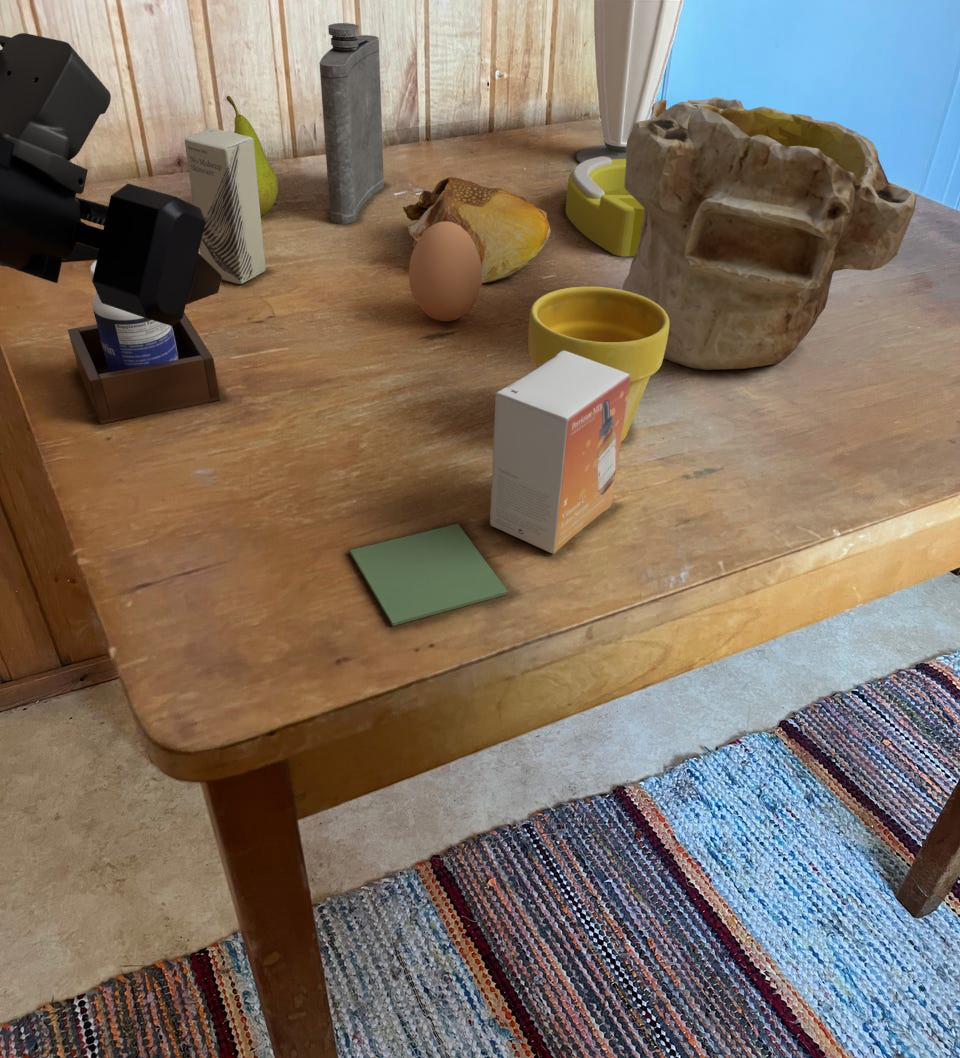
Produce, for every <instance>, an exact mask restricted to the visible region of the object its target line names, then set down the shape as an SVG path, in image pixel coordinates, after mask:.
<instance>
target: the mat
mask: <svg viewBox="0 0 960 1058" xmlns="http://www.w3.org/2000/svg"><path fill="white" fill-rule="evenodd" d="M349 553H350V556H351V558H352V559H353V561H354V563H355V565H356V566H357V568H358V569H359V571H360V573H361V575H362V576H363V579H364V580H365V582H366V583H367V585H368V587H369V589H370V590H371V592H372V594H373V596H374V597H375V599H376V601H377V602H378V604H379V606H380V608H381V609H382V611H383V613H384V615H385V616H386V618H387V620H388V622H389V623H390V625H391V626H392V627H395V626H399V625H403V624H405V623H411V622H413V621H416V620H420V619H424V618H427V617H431V616H434V615H438V614H443V613H446V612H449V611H453V610H455V609H456V610H457V609H460V608H464V607H467V606H471V605H476V604H478V603H482V602H485V601H489V600H492V599H496V598H500V597H503V596H507V595H508V590H507V589H506V587H505V585H504V584H503V583H502V582H501V580H500V579H499V578H498V576H497V574H495V572H494V570H493V569H492V568H491V567H490V565H489V563H487V561H486V560H485V558H484V557H483V556H482V554H481V553H480V552H479V550H478V549H477V547H476V546H475V545H474V543H473V542H472V540H471V539H470V538H469V536H468V535H467V534H466V532H465V531H464V530H463V529H462V527H461V525H460V524H459V523H455V524H451V525H447V526H443V527H439V528H435V529H431V530H428V531H423V532H418V533H415V534H411V535H406V536H403V537H398V538H394V539H390V540H386V541H381V542H377V543H374V544H369V545H366V546H362V547H357V548H354V549H350V550H349Z"/></svg>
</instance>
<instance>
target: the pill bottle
mask: <svg viewBox="0 0 960 1058" xmlns="http://www.w3.org/2000/svg"><path fill="white" fill-rule="evenodd" d="M96 262H97V260H94V262H92V263H91V265H90V266H89V267H90V268H89V271H90V276H91V281H92V280H93V275H94V271H95V266H96ZM91 301H92V303H91V304H92V311H93V314H94V318H95V324H96V325H97V327H98V331H99V334H100V339H101V343H102V346H103V350H104V354H105V358H106V362H107V366H108V370H109V372H114V371H119V370H125V369H130V368H136V367H141V366H146V365H152V364H157V363H162V362H168V361H173V360H179V358H178V353H177V348H176V343H175V338H174V333H173V329H172V326H170V325H166V324H163V323H160V322H156V321H153V320H150V319H147V318H144V317H141V316H138V315H135V314H132V313H129V312H126V311H123V310H120V309H118V308H115V307H112V306H109V305H106V304H103V303H101V300H100V298H99V296H98V294H97V291H96V292H95V294H94V296H93V298H92V300H91Z"/></svg>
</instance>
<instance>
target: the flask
mask: <svg viewBox="0 0 960 1058" xmlns="http://www.w3.org/2000/svg"><path fill="white" fill-rule="evenodd" d="M327 27H328V28H327V29H328V35H330V36H331V37H330V45H331V46H332V47H331V49H329V50H328V51H327V52H325V54H324V55H323V56H322V57H321V59H320V60H319V75H320V91H321V106H322V118H323V120H322V121H323V135H324V148H325V161H326V174H327V190H328V204H329V217H330V221H331V222H332V223H333V224H338V225H347V224H352V223H354V222H355V221H356V220H357V217H358V214H359V212H360V210H361V209H362V208H363V206H364V205H365V204H366V202H368V200H369V199H370V198H372V197H373V196H374V195H375V194H376V193H378V192H379V191H380V190H382V189H384V187H385V177H384V151H383V150H384V149H383V148H384V147H383V119H382V116H383V115H382V91H381V90H382V89H381V87H382V86H381V62H380V38H379V36H376V35H371V34H361V35H360V26H359V25H358V24H355V23H350V22H337V23H331V24H329V25H328V26H327Z"/></svg>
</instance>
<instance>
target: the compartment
mask: <svg viewBox="0 0 960 1058" xmlns="http://www.w3.org/2000/svg"><path fill="white" fill-rule="evenodd" d="M172 329H173V333H174V338H175V343H176V348H177V353H178V358H179V360H173V361H168V362H162V363H157V364H152V365H146V366H141V367H136V368H130V369H125V370H119V371H114V372H109V370H108V366H107V362H106V358H105V354H104V350H103V346H102V343H101V339H100V334H99V331H98V327H97V324H91V325H86V326H79V327H74V328H73V327H72V328H68V329H67V333H68V336H69V340H70V343H71V347H72V352H73V355H74V359H75V363H76V365H77V370H78V373H79V375H80V378H81V380H82V383H83V385H84V388H85V389H86V392H87V395H88V397H89V399H90V401H91V404H92V406H93V409H94V411H95V413H96V416H97V418H98V420H99V423H100V425H105V424H109V423H114V422H120V421H125V420H130V419H134V418H140V417H145V416H149V415H154V414H159V413H163V412H169V411H173V410H178V409H183V408H188V407H189V408H190V407H195V406H199V405H203V404H207V403H213V402H219V401H221V396H220V395H221V394H220V391H219V390H220V389H219V383H218V378H217V371H216V365H215V359H214V356H213V355H212V354H211V352H210V350H209V348H208V347H207V345H206V344H205V342H204V340H203V339H202V338H201V336H200V334H199V333H198V331H197V330H196V328H195V327H194V325H193V324H192V321H191V320H190V319H189V317H188V315H187V314H186V312H185V311H184V315H183V319H181V320H180V321H179V322H177V323H176V324H175V325H173V326H172Z"/></svg>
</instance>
